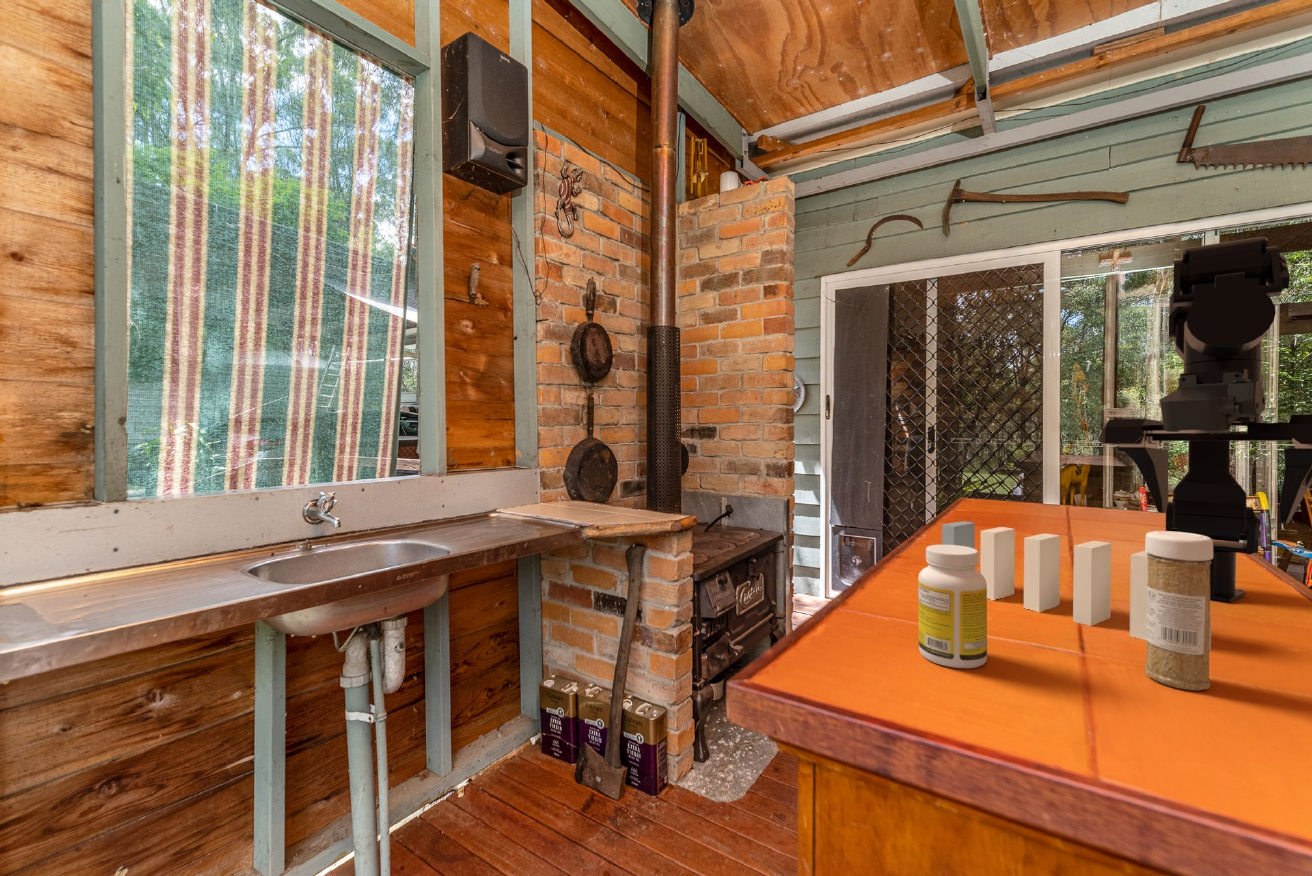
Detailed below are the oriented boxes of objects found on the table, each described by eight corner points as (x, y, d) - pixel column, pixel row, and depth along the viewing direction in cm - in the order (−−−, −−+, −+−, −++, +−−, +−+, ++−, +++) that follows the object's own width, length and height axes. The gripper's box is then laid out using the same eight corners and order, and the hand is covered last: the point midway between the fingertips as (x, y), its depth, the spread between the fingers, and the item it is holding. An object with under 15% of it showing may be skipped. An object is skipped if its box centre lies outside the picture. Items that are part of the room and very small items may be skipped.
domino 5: (1129, 636, 64) (1130, 554, 64) (1148, 627, 66) (1149, 548, 66) (1150, 641, 62) (1151, 557, 62) (1168, 632, 65) (1170, 551, 65)
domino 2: (980, 597, 78) (980, 530, 78) (1000, 591, 81) (1001, 526, 80) (993, 601, 76) (994, 533, 76) (1014, 594, 79) (1014, 528, 79)
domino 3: (1023, 608, 73) (1024, 537, 73) (1044, 601, 76) (1044, 533, 76) (1039, 612, 72) (1039, 540, 71) (1059, 605, 74) (1060, 535, 74)
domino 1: (941, 587, 83) (942, 524, 82) (962, 582, 85) (962, 521, 85) (953, 590, 81) (954, 526, 81) (974, 585, 84) (974, 522, 83)
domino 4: (1073, 621, 69) (1073, 545, 68) (1092, 613, 71) (1093, 540, 71) (1090, 626, 67) (1091, 548, 67) (1110, 617, 70) (1111, 543, 69)
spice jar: (1217, 683, 52) (1220, 535, 52) (1201, 697, 50) (1204, 541, 49) (1153, 666, 56) (1155, 527, 56) (1135, 678, 54) (1137, 533, 53)
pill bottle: (980, 649, 61) (980, 544, 60) (993, 674, 55) (994, 558, 55) (915, 642, 63) (915, 540, 62) (921, 665, 57) (921, 553, 57)
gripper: (1079, 365, 63) (1076, 508, 63) (1339, 339, 47) (1338, 532, 47) (1124, 376, 69) (1122, 508, 69) (1371, 357, 53) (1370, 528, 53)
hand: (1219, 517), depth 59 cm, fingers open, 9 cm apart
